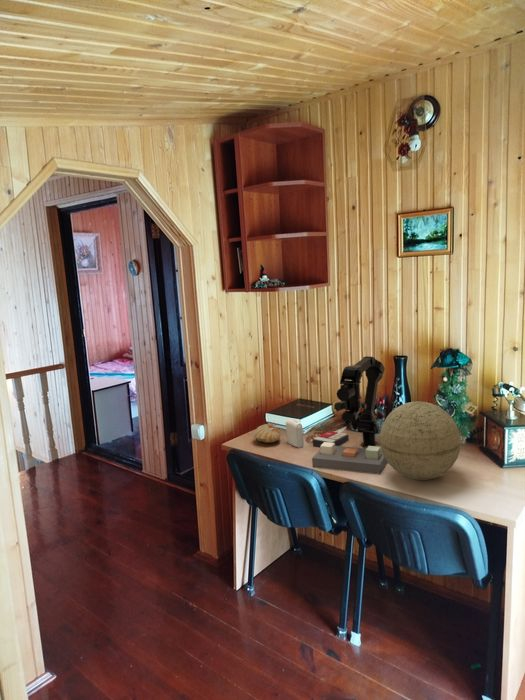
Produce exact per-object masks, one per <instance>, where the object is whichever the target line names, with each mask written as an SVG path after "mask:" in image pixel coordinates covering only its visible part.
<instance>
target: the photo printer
mask: <svg viewBox="0 0 525 700" xmlns="http://www.w3.org/2000/svg"><path fill="white" fill-rule="evenodd" d="M285 429H286V432H285V433H286V441H287V444H289V445H291V446H294V447H296V448H302V447H304V445H305V444H304V443H305V442H304V434H303V433H304V431H303V425H302V424H301V422H300V421H298V420H296V419H293V418H290V419H287V420H286V421H285Z"/></svg>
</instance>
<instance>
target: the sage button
mask: <svg viewBox="0 0 525 700" xmlns="http://www.w3.org/2000/svg"><path fill="white" fill-rule="evenodd" d="M366 448H367V449H366V459H376V460H379V459H380V457H381V446H377V445H376V446H368V447H366Z"/></svg>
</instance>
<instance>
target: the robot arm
mask: <svg viewBox="0 0 525 700" xmlns="http://www.w3.org/2000/svg"><path fill="white" fill-rule="evenodd" d="M385 369H386V368H385V365H384V364H383V363H382V362H381V361H379V360H378V359H376V358H375V357H374V356H369V355H368V356H367V355H365V356H363V357H362V359H360V360H359V361H357V362H356V363H355V364H353V365H347V366H345V367H344V368H343V370H342V373H341V377H340V381H339V384H340V388H339V389H338V390H337V391H336V397H337V399H338V400H340V401H338V402H335V403H334V404H333V409H334V410H335V411H336V412H337V413H338V412H340V411H342V410H345V411H344V412H343V413H341V415H340V416H341V420H343V421H350V422H351V423H350V424H351V425H352V428H353V430H354V431H356V430H357V432H358V433H361V434H362V443H360V447H366V448H368V446H377V444H378V441H376V434H379V433H380V426H379V424H378V423H377V418H376V415H375V413H374V411H375V405H376V400H377V399H376V398H377V394H378V393H377V392H378V385H379V382H381V380H382V379H383V375H384V374H385V373H384V372H385ZM364 372H365V374H364V375H365V377H366V380H367V382H366V390H365V396H364V401H361V400H362V396H361V388H360V387H361V386H360V383H362V382H361V379H362V377H363V373H364ZM361 409H362V411H360V410H361Z"/></svg>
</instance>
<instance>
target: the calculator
mask: <svg viewBox="0 0 525 700" xmlns="http://www.w3.org/2000/svg"><path fill="white" fill-rule="evenodd" d="M349 439H350V438H349V434H348V433H343V432H338V431H332V430H329V431H327V432H324V433H322V434H321V435H318V436H317V437H315V438H312V447H313V448H319V449H320V446H321V445H322V444H323V443H324V442H330V443H335V446H343V444H345V443H347V442H348V441H349Z"/></svg>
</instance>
